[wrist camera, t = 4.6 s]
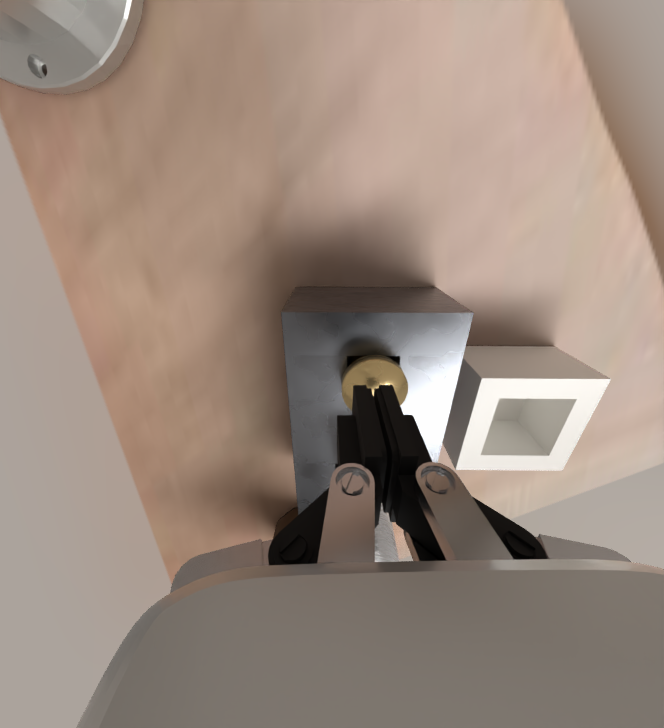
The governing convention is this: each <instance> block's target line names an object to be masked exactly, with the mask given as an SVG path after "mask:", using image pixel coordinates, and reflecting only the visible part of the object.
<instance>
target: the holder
mask: <svg viewBox="0 0 664 728" xmlns="http://www.w3.org/2000/svg"><path fill="white" fill-rule="evenodd" d="M610 380H611V379H610V378H608V377H607V376H605V375H603V374H601V373H600V372H598V371H596V370H595V369H593V368H591V367H589V366H588V365H586V364H584V363H583V362H581V361H579V360H577V359H576V358H574V357H572V356H571V355H569V354H567V353H565V352H564V351H562V350H560V349H559V348H557V347H555V346H466V347H465V351H464V355H463V359H462V364H461V368H460V372H459V376H458V380H457V384H456V388H455V392H454V397H453V401H452V405H451V409H450V413H449V417H448V421H447V425H446V430H445V434H444V438H443V444H444V447H445V449H446V451H447V453H448V455H449V457H450V459H451V461H452V463H453V465H454V467H455V470H550V471H562V470H563V468H564V466H565V464H566V462H567V460H568V459H569V457H570V455H571V453H572V451H573V449H574V447H575V446H576V444H577V442H578V440H579V438H580V436H581V434H582V432H583V431H584V429H585V427H586V425H587V423H588V421H589V419H590V418H591V416H592V414H593V412H594V410H595V408H596V406H597V404H598V403H599V401H600V399H601V397H602V395H603V393H604V391H605V389H606V388H607V386H608V384H609V382H610Z"/></svg>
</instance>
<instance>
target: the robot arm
mask: <svg viewBox="0 0 664 728" xmlns="http://www.w3.org/2000/svg"><path fill="white" fill-rule="evenodd" d="M143 3H144V0H0V78H1V79H3V80H6V81H8V82H10V83H13V84H15V85H17V86H20V87H23V88H27V89H30V90H34V91H37V92H41V93H47V94H63V95H67V94H71V93H76V92H81V91H86V90H88V89H90V88H92V87H94V86H95V85H97V84H99V83H101V82H103V81H105V80H106V79H107V78H108V77H109V76H110V75H111V74H112V73H113V72H114V71H115V70H116V69H117V68H118V67H119V66H120V65H121V63H122V61H123V59H124V58H125V56H126V54H127V53H128V51H129V49H130V47H131V46H132V44H133V41H134V38H135V35H136V32H137V29H138V26H139V23H140V20H141V17H142V10H143ZM337 460H338V468H336V469H335V471H334V472H333V474H332V477H331V481H330V487H329V488H328V489H327V490H326V491H325V492H323V493H322V494H321V495H320V496H319V497H318V498H317V499H316V500H315V501H313V502H312V503H311V504H310V505H309V506H308V507H307V508H306V509H305V510H303V511H302V512H301V513H300V514H299V515H298V516H297V517H296V518H294V519H293V520H292V521H291V522H290V523H289V524H288V525H287V526H286V527H284V528H283V529H282V530H281V531H280V532H279V533H278V534H277V535H276V536H275V537H274V539H272V540H268V541H264V542H262V541H261V539H259V540H255V541H251V542H248V543H244V544H240V545H236V546H232V547H228V548H224V549H221V550H217V551H213V552H209V553H205V554H201V555H198V556H196V557H194V558H192V559H190V560H189V561H187V562H186V563H185V564H184V565H183V566H182V567H181V568H180V570H179V571H178V572H177V574H176V575H175V578H174V581H173V583H172V587H171V592H170V594H169V595H167V596H165V597H164V598H162V599H161V600H159V601H158V602H157V603H155V604H154V605H153V606H151V607H150V608H149V609H148V610H147V611H146V612H145V613H144V614H143V615H142V616H141V617H140V619H139V620H138V621H137V622H136V623H135V625H134V626H133V627H132V629H131V630H130V632H129V633H128V635H127V636H126V637H125V639H124V640H123V642H122V644H121V645H120V647H119V649H118V650H117V652H116V654H115V656H114V657H113V659H112V660H111V662H110V664H109V666H108V668H107V670H106V671H105V673H104V675H103V677H102V679H101V681H100V683H99V684H98V686H97V688H96V690H95V692H94V694H93V696H92V698H91V700H90V702H89V704H88V706H87V708H86V710H85V712H84V714H83V716H82V717H81V720H80V722H79V724H78V726H77V728H664V569H662V568H658V567H654V566H649V565H644V564H640V563H632V562H631V561H630V560H629V559H628V558H626V557H625V556H623V555H621V554H619V553H618V552H616V551H614V550H611V549H608V548H604V547H599V546H595V545H589V544H584V543H580V542H575V541H570V540H565V539H561V538H556V537H551V536H546V535H541V534H539V536H538V537H534V536H533V535H532V534H531V533H529V532H528V531H527V530H525V529H524V528H522V527H521V526H519V525H517V524H516V523H514V522H513V521H511V520H509V519H508V518H506V517H504V516H503V515H501V514H500V513H498V512H496V511H495V510H493V509H491V508H490V507H488V506H487V505H485V504H483V503H482V502H480V501H478V500H477V499H475V498H474V497H472V496H471V495H470V493H469V492H468V490H467V489H466V487H465V486H464V484H463V483H462V481H461V480H460V478H459V477H458V475H457V474H456V473H455V472H454V471H453V470H452V469H450V468H449V467H447V466H445V465H443V464H441V463H436V462H432V459H431V457H430V455H429V452H428V450H427V447H426V445H425V442H424V440H423V438H422V435H421V433H420V430H419V428H418V426H417V423H416V421H415V418H414V417H413V415H404V414H403V412H402V409H401V406H400V404H399V401H398V398H397V396H396V393H395V390H394V387H393V385H379V388H375V389H374V397H373V393H372V389H371V388H367V386H366V385H354V386H353V402H352V415H337ZM381 503H382V507H383V511H384V513H389V518H390V522H396V524H397V525H398V526H399V527H401V528H402V529H403V530H404V536H405V540H406V542H407V545H408V548H409V550H410V553H411V555H412V558H413V561H409V562H407V561H406V562H375V528H376V527H377V526H378V524H379V517H380V510H381Z"/></svg>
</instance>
